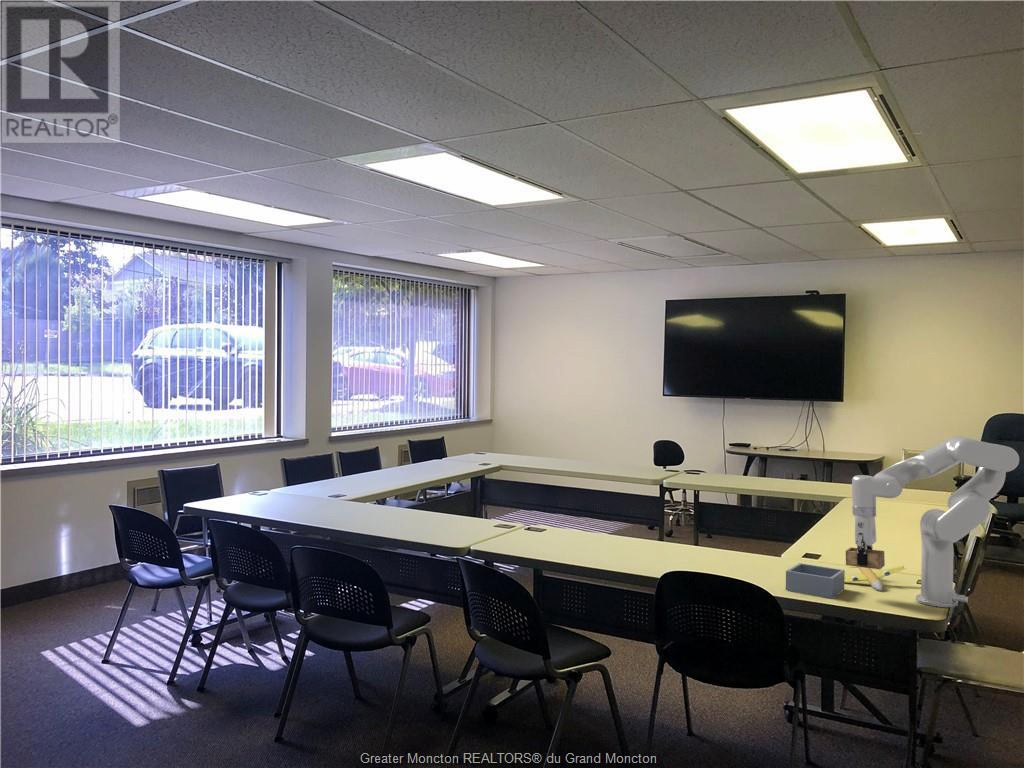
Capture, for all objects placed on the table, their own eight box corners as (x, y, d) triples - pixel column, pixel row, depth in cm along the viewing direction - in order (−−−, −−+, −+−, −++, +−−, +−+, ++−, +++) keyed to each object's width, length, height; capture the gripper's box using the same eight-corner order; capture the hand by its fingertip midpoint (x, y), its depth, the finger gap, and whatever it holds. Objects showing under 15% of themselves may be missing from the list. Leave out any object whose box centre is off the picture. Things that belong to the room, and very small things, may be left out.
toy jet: (920, 595, 276) (886, 555, 305) (917, 577, 275) (883, 538, 304) (846, 610, 280) (820, 569, 309) (843, 593, 278) (816, 553, 307)
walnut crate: (884, 565, 268) (884, 551, 268) (880, 569, 262) (879, 554, 262) (850, 561, 274) (850, 547, 274) (845, 565, 269) (845, 550, 269)
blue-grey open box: (844, 589, 280) (844, 570, 279) (832, 598, 268) (832, 578, 268) (799, 581, 289) (799, 563, 289) (785, 590, 278) (785, 570, 278)
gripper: (869, 516, 259) (870, 569, 259) (882, 508, 273) (882, 559, 273) (845, 514, 264) (846, 566, 264) (859, 506, 277) (860, 556, 278)
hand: (865, 562), depth 268 cm, fingers closed on walnut crate, 6 cm apart
